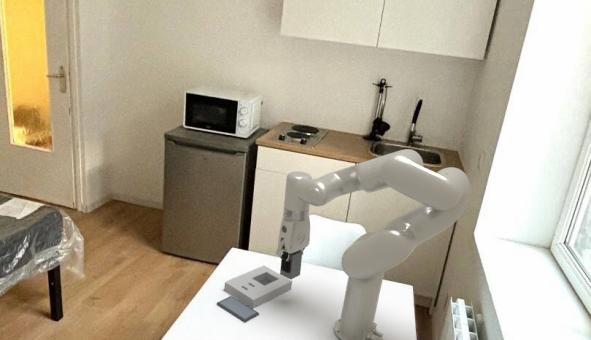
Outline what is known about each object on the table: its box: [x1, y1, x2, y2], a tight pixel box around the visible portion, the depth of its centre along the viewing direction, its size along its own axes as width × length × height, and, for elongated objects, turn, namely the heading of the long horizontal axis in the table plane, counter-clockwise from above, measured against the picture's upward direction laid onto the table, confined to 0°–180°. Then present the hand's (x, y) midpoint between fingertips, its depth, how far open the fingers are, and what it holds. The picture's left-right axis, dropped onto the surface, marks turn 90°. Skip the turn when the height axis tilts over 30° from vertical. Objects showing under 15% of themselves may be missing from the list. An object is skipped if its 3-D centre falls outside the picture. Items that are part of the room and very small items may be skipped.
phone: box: [216, 295, 260, 324], centre depth 145 cm, size 12×6×1 cm, turn 52°
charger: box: [279, 250, 303, 280], centre depth 148 cm, size 4×4×8 cm
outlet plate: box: [223, 265, 293, 309], centre depth 157 cm, size 13×18×3 cm
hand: (290, 268), depth 148 cm, fingers closed on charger, 4 cm apart
